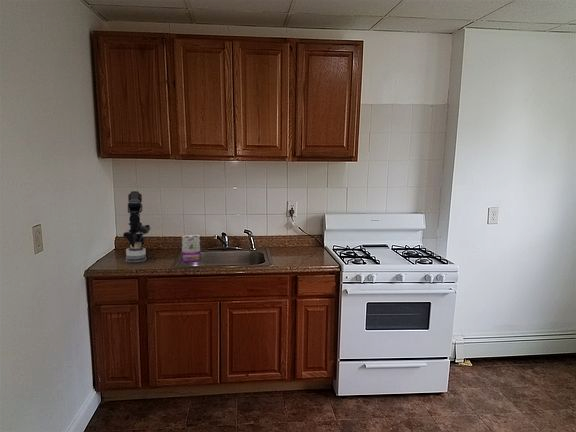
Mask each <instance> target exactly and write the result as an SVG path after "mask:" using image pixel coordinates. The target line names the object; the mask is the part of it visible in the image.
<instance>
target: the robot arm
mask: <svg viewBox="0 0 576 432" xmlns="http://www.w3.org/2000/svg"><path fill="white" fill-rule="evenodd" d="M127 197H128V198H127V201H128V202H127V213H128V214H129V222H128V226H129V229H128V231H125V232H123V234H122V235H123V237H122V238H126V239H127V241H128V243H129V244H128V245H129V246H130V244H131V246H132V247H134V245H135V242H140V243H141V246H142V245H145V237H144V235H147V234H149V231H151V227H150V226H151V225H149V224H146V225H143V223H142V222H141V214H140V213H142V212H143V204H142V203H143V195H142V193H140V192H139V191H137V190H135V191H134V190H132V191H130V193H128V196H127Z"/></svg>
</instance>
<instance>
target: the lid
mask: <svg viewBox="0 0 576 432" xmlns="http://www.w3.org/2000/svg"><path fill="white" fill-rule="evenodd" d="M141 247H142V244H141V243H140V242H135V245H134V247H132V246H131V244H130V245H129V248H131V249H139V248H141Z"/></svg>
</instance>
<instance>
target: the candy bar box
mask: <svg viewBox="0 0 576 432" xmlns="http://www.w3.org/2000/svg"><path fill="white" fill-rule="evenodd" d="M201 261H202V260H201V235H200V234H190V235H189V234H186V235H181V262H182V264H183V263H184V264H185V263H186V264H187V263H201Z"/></svg>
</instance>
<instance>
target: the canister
mask: <svg viewBox="0 0 576 432" xmlns="http://www.w3.org/2000/svg"><path fill="white" fill-rule="evenodd" d="M146 251H147V250H146V248H145V247H143V246H141V248H139V249H131V248H130V247H128V248H126V249H125V254H126V255H125V257H126V258H125V262H126V263H131V264H132V263H133V264H134V263H142V262H145V261H146V262H147V257H146Z"/></svg>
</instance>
